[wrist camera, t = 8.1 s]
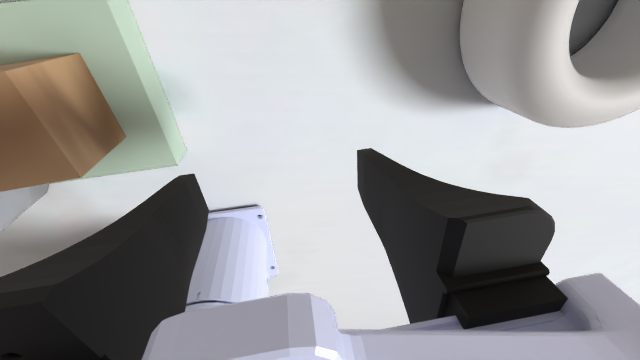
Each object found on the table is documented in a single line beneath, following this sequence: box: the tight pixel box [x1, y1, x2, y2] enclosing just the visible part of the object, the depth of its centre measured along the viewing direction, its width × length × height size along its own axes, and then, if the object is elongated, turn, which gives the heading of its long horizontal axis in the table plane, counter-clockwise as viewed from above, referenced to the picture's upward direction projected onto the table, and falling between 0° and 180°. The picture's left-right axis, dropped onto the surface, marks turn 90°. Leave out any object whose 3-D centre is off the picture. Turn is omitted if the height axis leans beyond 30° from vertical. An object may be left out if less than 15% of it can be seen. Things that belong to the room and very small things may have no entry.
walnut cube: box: [0, 53, 126, 192], centre depth 14 cm, size 5×5×5 cm
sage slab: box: [0, 0, 187, 186], centre depth 17 cm, size 10×10×3 cm
